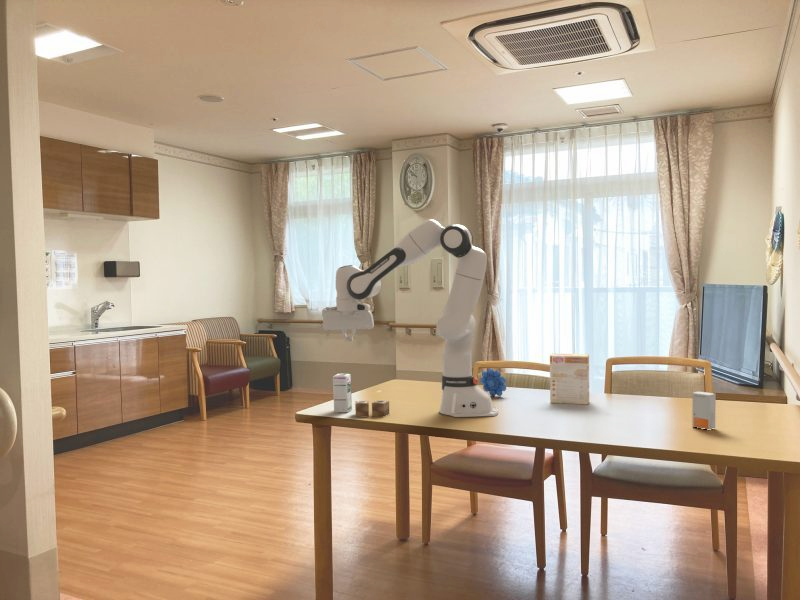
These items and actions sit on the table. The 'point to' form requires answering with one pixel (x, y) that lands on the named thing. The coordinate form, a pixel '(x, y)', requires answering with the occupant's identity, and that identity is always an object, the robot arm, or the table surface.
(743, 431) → the table surface
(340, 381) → the syrup box
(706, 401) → the skincare box
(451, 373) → the robot arm
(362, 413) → the walnut block one
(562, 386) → the coffeecake box
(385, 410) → the walnut block two
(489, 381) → the blue gear wheel
